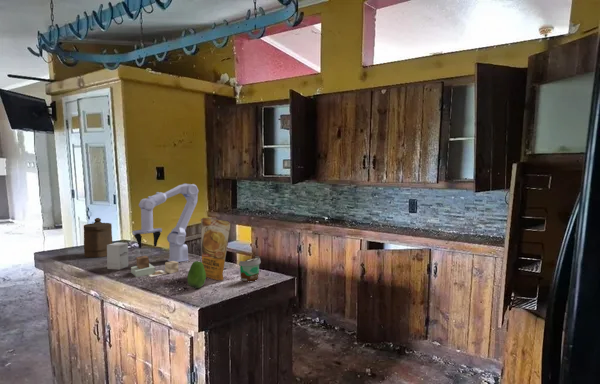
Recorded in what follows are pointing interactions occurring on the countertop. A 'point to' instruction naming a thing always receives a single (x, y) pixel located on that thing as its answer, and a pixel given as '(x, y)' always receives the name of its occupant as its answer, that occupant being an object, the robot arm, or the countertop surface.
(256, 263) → the food container
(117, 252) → the supplement box
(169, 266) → the beech block
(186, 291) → the countertop surface
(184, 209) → the robot arm
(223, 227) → the pancake mix bag
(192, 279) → the avocado
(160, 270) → the card
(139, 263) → the walnut block
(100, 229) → the wooden container
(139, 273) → the plinth
